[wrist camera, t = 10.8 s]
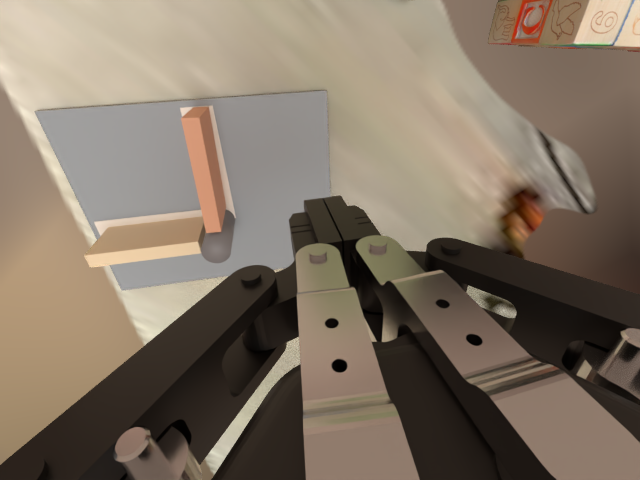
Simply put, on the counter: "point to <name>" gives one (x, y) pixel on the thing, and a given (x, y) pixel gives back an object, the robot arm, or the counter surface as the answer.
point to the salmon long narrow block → (205, 166)
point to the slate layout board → (192, 182)
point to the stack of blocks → (568, 24)
